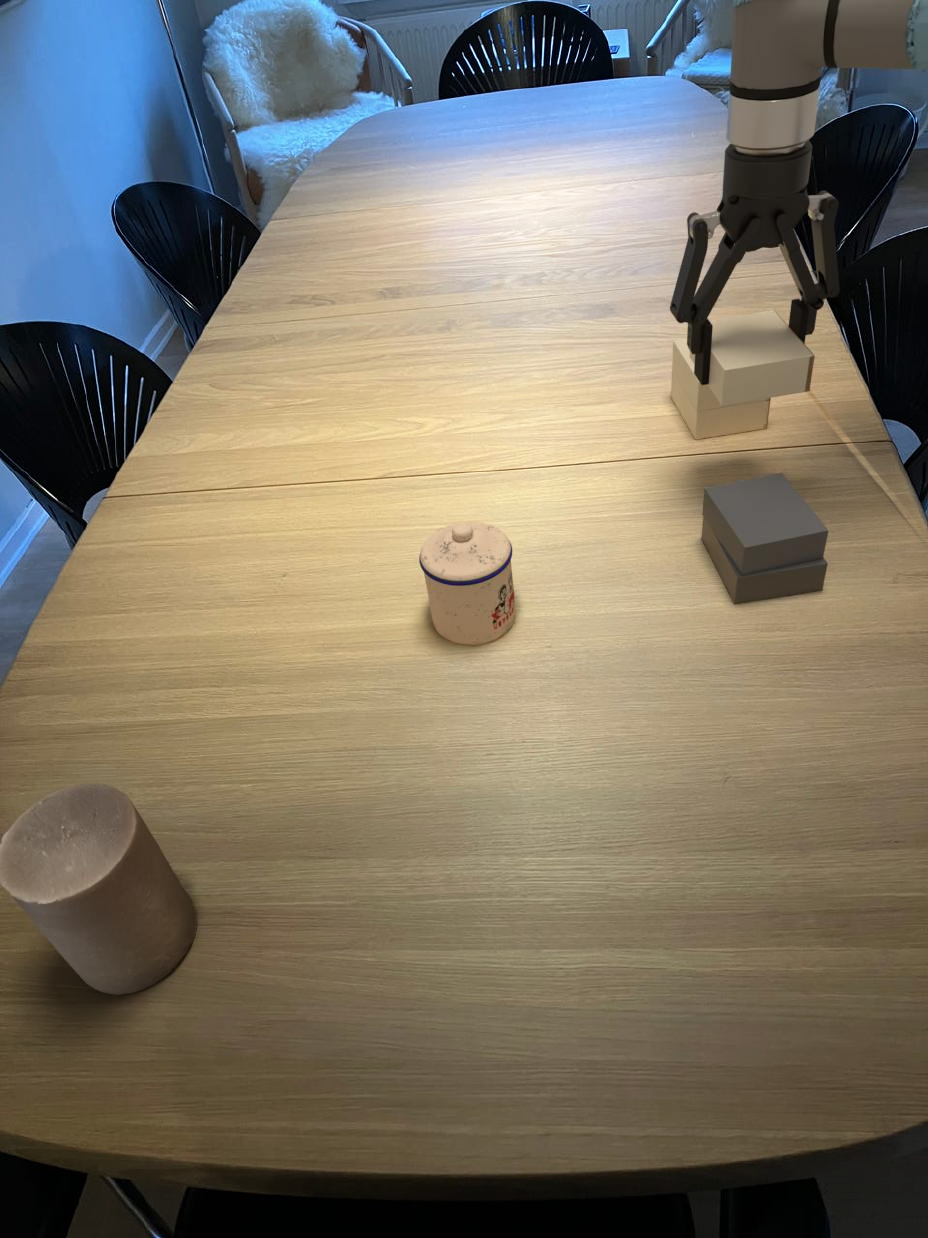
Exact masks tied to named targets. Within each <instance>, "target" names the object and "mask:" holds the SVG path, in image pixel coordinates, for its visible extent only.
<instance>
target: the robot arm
mask: <svg viewBox="0 0 928 1238" xmlns="http://www.w3.org/2000/svg"><path fill="white" fill-rule="evenodd" d="M732 8H733V16H732V17H733V18H732V39H731V58H730V59H731V60H730V77H729V78H730V79H729V86H728V87H729V88H728V101H727V102H728V103H727V105H728V106H727V119H726V134H725V140H726V141H727V142H728V143H730V144H728V145H727V147H725V150H724V158H723V159H724V161H723V176H722V196H721V200H720V202H719V204H718V206H717V207H716V210H714V211H711V212H707V213H703V214H699V213H698V212H695V211H694V212H691V213H690V214H689V215H688V216H687V219H686V225H687V240H686V241H687V242H686V245H685V247H684V252H683V256H682V260H681V262H680V263H681V264H680V267H679V271H678V275H677V279H676V282H675V286H674V289H673V294H672V298H671V302H670V305H669V311H670V313H671V314H672V316H673V318H674V319H675V321H676V322H677V323H679V324H684V323H687V332H686V335H687V336H686V339H687V346H688V348H689V350H690V351H691V353H692V354H695V366H694V374H695V376H696V377H697V379H698V380H699V382H700V383H701V385H707V384H709V373H710V358H711V344H712V329H713V325H712V324H711V323H710V321H709V320H710V319H709V316H710V315H711V313H712V311H713V309H714V307H715V304H716V303H717V302H718V300H719V297H720V295H721V294H722V292H723V290H724V288H725V287H726V285H727V283H728V281H729V279H730V277H731V275H732V274H733V272H734V270H735V268H736V266H737V265H738V264H739V263H741V262H742V261H743V259H744V257H745V255H746V253H751V252H756V251H758V250H761V249H763V248H765V249H774V248H779V249H780V252H781V254H782V256H783V258H784V261H785V263H786V266H787V268H788V271H789V273H790V275H791V277H792V279H793V282H794V284H795V287H796V289H797V291H798V293H799V296H800V297H801V298H794V299H791V303H790V311H789V319H788V326H789V327H790V328H791V329H792V330H793V332H794V333H795V334H796V335H797V336H798V337H799V338H800V339H801V341H802V342H803V343H804V344H805V345H806V337H807V336H810V335H813V333H814V332H815V328H816V323H817V321H816V320H817V315H818V311H819V310H821V309H822V308H823V307H824V305H825V301H824V300H826V299H828V298H829V299H835V298H836V297H838V296H839V294H840V290H841V288H840V278H839V266H838V256H837V253H838V252H837V242H836V232H835V221H836V218H837V214H838V210H839V205H840V201H839V200H838V199H837V198H835V196H833V195H832V194H830V193H829V192H828V191H827V190H820V191H819V192H818V193H817V194H815V195H813V194H811V195H809V194H808V192H807V186H808V183H809V178H810V177H809V176H810V171H811V169H810V168H811V161H812V153H813V145H812V143H811V141H810V139H811V138H812V137H813V136H814V135H815V130H816V124H817V123H816V122H817V114H818V105H819V95H820V87H821V82H822V81H821V80H822V71H823V68H828V69H875V70H876V69H877V70H878V69H879V70H917V71H921V72H922V73H923V72H924V73H925V72H928V0H733V1H732ZM806 213H807V214H808V216H809V218H810V219H811V230H812V240H813V241H812V242H813V251H814V261H815V269H816V279H817V283H815V281H814V278H813V275H812V272H811V271H810V268H809V266H808V263H807V262H806V258H805V257H804V254H803V251H802V250H801V249H802V248H801V244H800V242H799V239H798V237H797V234H796V232H795V228H796V226H797V225H798V224H799V223H800V221H801V220H802V219H803V217H804V216H805V214H806ZM718 226H721V227H722V229H723V230H724V234H723V236H722V238H721V240H720V242H719V244H718V247H717V249H718V250H717V252H716V254H715V256H714V258H713V260H712V261H711V263H710V265H709V267H708V269H707V271H706V273H705V275H704V277H703V279H702V281H701V282H700V284H699V280H700V277H701V273H702V269H703V267H704V262H705V260H706V257H707V251H708V248H709V247H708V246H709V240H711V239H712V238H713V236H714V234H715V230H716V228H717V227H718ZM698 284H699V286H698ZM697 287H698V288H697Z"/></svg>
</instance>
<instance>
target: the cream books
mask: <svg viewBox="0 0 928 1238" xmlns="http://www.w3.org/2000/svg"><path fill="white" fill-rule="evenodd" d="M671 360H672V361H671V379H670V380H671V382H670V387H671V388H670V399H671V400H672V402H673V403H674V405H675V407H676V409H677V410H678V412H679V414H680V416H681V417H682V419H683V421H684V423H685V424H686V426H687V428H688V431H690V433H691V435H692V437H693V439H694V440H702V439H703V440H704V439H709V438H715V437H721V436H727V435H734V434H740V433H747V432H752V431H759V430H766V429H768V424H769V415H770V407H771V400H772V399H771V398H766V399H760V400H753V401H747V402H741V403H735V404H729V405H723V406H722V405H721V404H720V402H719V401H718V399H717V398H716V396H715V395H714V393H713V392H712V390H711V389H710V387H709V386H708V384H707V385H701V383H700V382H699V380H698V379H697V377H696V376H695V374H694V366H695V365H694V363H693V362H692V360H691V359H690V350H689V348H688V346H687V338H683V339H676V340H673V341H672V359H671Z"/></svg>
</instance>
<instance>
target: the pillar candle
mask: <svg viewBox="0 0 928 1238" xmlns="http://www.w3.org/2000/svg"><path fill="white" fill-rule="evenodd" d="M0 886H1V887H2V888H3V889H4V890H5V891H6V892H7V893H8V894H9V896H10V897H11V898H12V899H13V900H14V901H15V902H16V904H17V905H18V906H19V907H20V908H21V909H22V910H23V912H25V913H24V914H26V915H27V916H28V917H29V919H30V920H31V921H32V922H33V923H34V925H35V926H36V927H37V928H38V929H39V930H40V932H41V933H42V934H43V935H44V937H45V938H46V939H47V941H49V942H50V944H51V945H52V946H53V947H54V948H55V950H56V951H57V952H58V953H59V954H60V955H61V957H62V958H63V960H64V961H65V962H67V963H68V966H70V968H71V969H73V971H74V972H75V973H76V974H77V975H78V976H79V977H80V978H81V979H82V980H83V982H84V983H85V984H86V985H88V986H89V987H91V988H93V989H94V990H96V991H98V992H100V993H103V994H109V995H114V996H115V995H116V996H119V995H121V996H122V995H127V994H133V993H137V992H140V991H143V990H145V989H147V988H149V987H151V986H154V985H155V984H156V983H158V982H159V981H161V980H162V979H164V978H165V977H166V976H168V975H169V974H170V973H171V972H172V971H173V970H174V969H175V968H177V966H178V964H179V963H180V962H181V960H182V959H183V958H184V957H185V955H186V954H187V952H188V951H189V950H190V947H191V946H192V943H193V941H194V939H195V936H196V931H197V927H198V917H197V909H196V908H197V907H196V906H195V903H194V901H193V899H192V897H191V896H190V894H189V893H188V892H187V890H186V889H185V888H184V887H183V885H182V883H181V881H180V879H179V877H178V876H177V874H176V873H175V872H174V870H173V868H172V866H171V865H170V862H169V861H168V859H167V858H166V856H165V854H164V852H163V850H162V849H161V847H160V845H159V843H158V842H157V840H156V839H155V837H154V835H153V834H152V832H151V831H150V829H149V827H148V825H147V824H146V822H145V821H144V819H143V816H141V814H140V812H139V811H138V810H137V807H136V806H135V804H134V803H133V801H132V800H131V798H129V796H128V795H127V794H126V793H124V792H123V791H121V790H120V789H119V788H117V787H115V786H112V785H108V784H105V783H101V782H83V783H77V784H72V785H69V786H66V787H63V788H60V789H58V790H56V791H54V792H51V793H49V794H47V795H46V796H44V797H42V798H41V799H40V800H38V801H37V802H35V803H33V804H32V805H31V806H29V808H28V809H26V810H25V811H24V812H23V813H22V814H20V816H19V817H18V818H16V820H15V822H14V823H12V825H11V827H10V828H9V829H8V830H7V831H5V833H3V836H2V838H1V843H0Z"/></svg>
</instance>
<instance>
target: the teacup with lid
mask: <svg viewBox="0 0 928 1238" xmlns="http://www.w3.org/2000/svg"><path fill="white" fill-rule="evenodd" d="M512 557H513V545H512V543H511V541H510V539H509V538H508V536H507V534H505V532H503V531H502V530H501V529H500V528H498V527H497V526H494V525H492V524H491V523H486V522H483V521H460V522H454V523H451V524H448V525H445V526H443V527H441V528H439V529H437V530H435V531H434V532H432V533H431V534H430V535H429V536H428V537H427V538H426V540H425V541H424V542H423V544H422V546H421V548H420V553H419V558H418V560H419V566H420V568H421V570H422V571H423V574H424V580H425V585H426V591H427V597H428V602H429V608H430V613H431V619H432V624H433V626H434V628H435V630H436V631H437V633H438V634H439V635H441V637H442V638H444V639H445V640H448V641H449V642H452V643H455V644H459V645H466V646H473V645H474V646H475V645H482V644H486V643H490V642H492V641H494V640H496V639H499V638H500V637H502V636H503V635H504V634H506V632H508V631H509V629H510V628H511V627H512V626H513V624H514V622H515V619H516V615H517V609H516V597H515V589H514V587H515V586H514V579H513V567H512Z"/></svg>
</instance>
